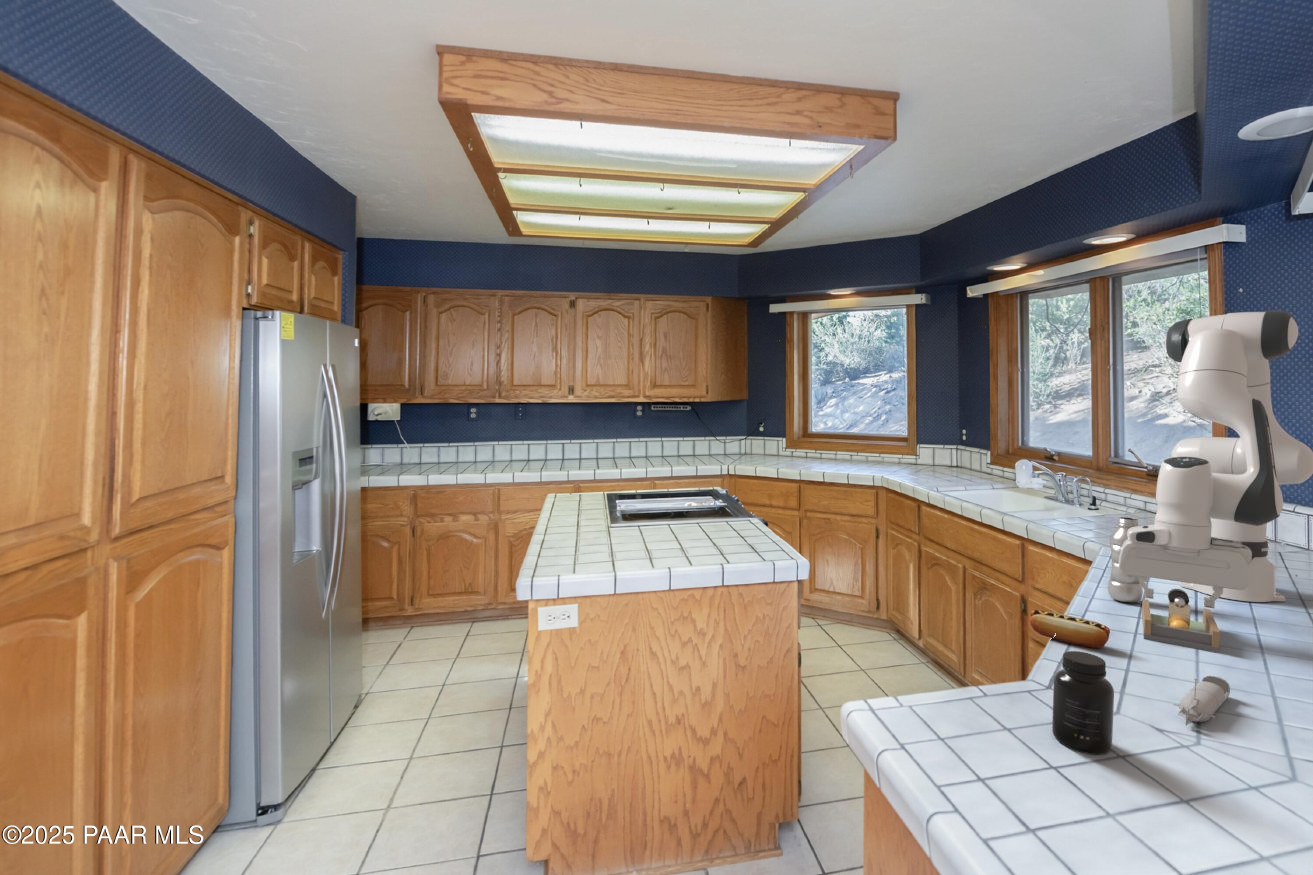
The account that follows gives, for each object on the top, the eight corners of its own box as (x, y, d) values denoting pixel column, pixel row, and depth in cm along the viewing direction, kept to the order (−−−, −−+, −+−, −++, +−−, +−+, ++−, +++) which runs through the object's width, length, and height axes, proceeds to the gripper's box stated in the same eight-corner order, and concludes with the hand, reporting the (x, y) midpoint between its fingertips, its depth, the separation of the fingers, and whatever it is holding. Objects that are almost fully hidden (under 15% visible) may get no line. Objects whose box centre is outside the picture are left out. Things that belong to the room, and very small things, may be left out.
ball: (1170, 615, 120) (1170, 627, 118) (1190, 618, 118) (1190, 631, 116) (1168, 624, 122) (1169, 636, 120) (1188, 627, 120) (1189, 640, 118)
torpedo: (1197, 689, 99) (1199, 650, 99) (1236, 700, 95) (1239, 660, 95) (1165, 723, 88) (1167, 680, 88) (1207, 737, 84) (1210, 692, 84)
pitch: (1141, 616, 132) (1142, 598, 132) (1208, 628, 126) (1210, 609, 125) (1143, 638, 120) (1144, 619, 119) (1218, 652, 113) (1219, 632, 113)
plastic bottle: (1148, 606, 139) (1153, 521, 138) (1115, 604, 140) (1119, 520, 139) (1132, 597, 145) (1136, 516, 144) (1101, 595, 147) (1105, 515, 146)
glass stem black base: (1166, 619, 126) (1168, 587, 125) (1186, 623, 124) (1188, 590, 123) (1168, 628, 121) (1170, 594, 121) (1189, 632, 119) (1191, 597, 119)
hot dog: (1106, 655, 112) (1107, 629, 112) (1025, 635, 122) (1026, 611, 121) (1111, 648, 115) (1112, 623, 115) (1033, 629, 125) (1034, 605, 125)
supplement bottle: (1052, 723, 88) (1055, 643, 87) (1110, 738, 84) (1114, 654, 83) (1050, 745, 82) (1054, 659, 81) (1113, 762, 78) (1117, 672, 77)
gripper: (1249, 540, 119) (1245, 608, 120) (1119, 527, 131) (1117, 589, 132) (1255, 546, 114) (1251, 617, 115) (1119, 532, 126) (1116, 596, 127)
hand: (1178, 602), depth 123 cm, fingers open, 8 cm apart
